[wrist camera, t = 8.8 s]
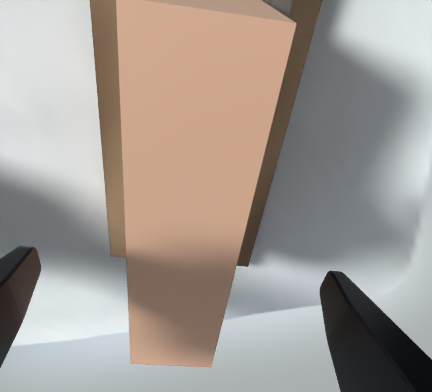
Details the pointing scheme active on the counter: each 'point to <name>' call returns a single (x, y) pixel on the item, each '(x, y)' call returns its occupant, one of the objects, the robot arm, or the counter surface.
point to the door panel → (191, 160)
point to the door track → (111, 116)
